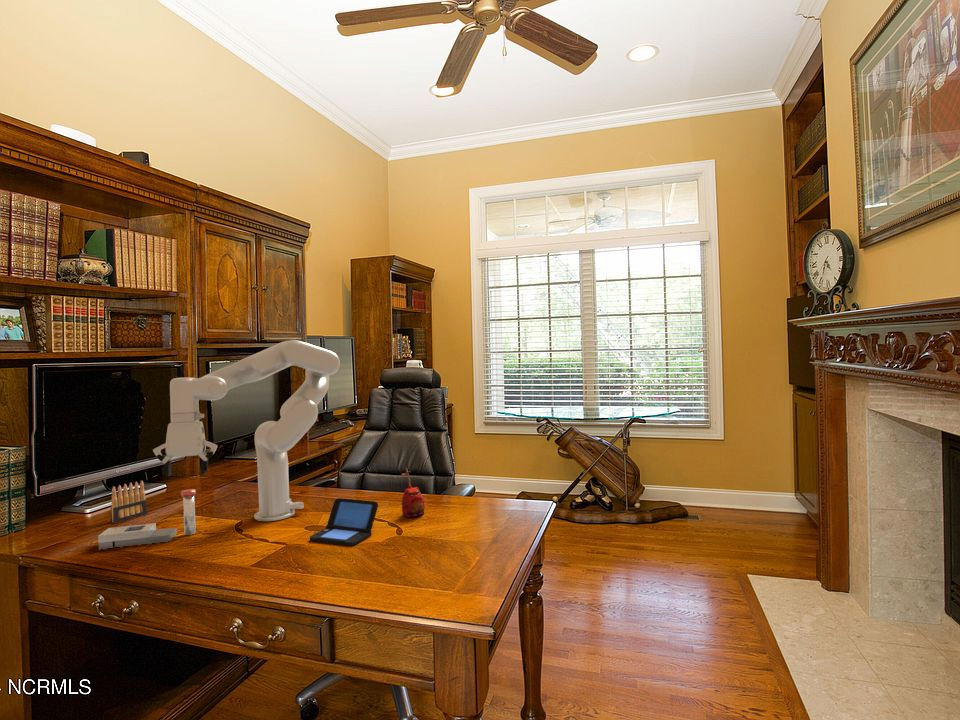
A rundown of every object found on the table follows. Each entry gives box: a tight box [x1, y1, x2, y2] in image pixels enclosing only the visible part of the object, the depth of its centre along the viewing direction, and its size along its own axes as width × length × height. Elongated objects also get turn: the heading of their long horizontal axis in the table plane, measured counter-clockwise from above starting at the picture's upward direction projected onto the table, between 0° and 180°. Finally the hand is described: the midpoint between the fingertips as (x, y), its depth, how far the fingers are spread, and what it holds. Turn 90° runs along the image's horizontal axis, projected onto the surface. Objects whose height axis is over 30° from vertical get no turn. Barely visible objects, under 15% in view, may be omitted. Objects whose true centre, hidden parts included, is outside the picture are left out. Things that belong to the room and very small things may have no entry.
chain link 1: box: [97, 522, 157, 551], centre depth 153 cm, size 12×7×4 cm, turn 105°
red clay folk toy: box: [401, 467, 426, 519], centre depth 171 cm, size 8×7×15 cm
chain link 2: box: [114, 527, 178, 548], centre depth 154 cm, size 14×7×2 cm, turn 105°
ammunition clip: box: [110, 480, 148, 524], centre depth 177 cm, size 11×2×12 cm, turn 151°
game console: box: [309, 497, 379, 547], centre depth 153 cm, size 16×14×9 cm
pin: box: [180, 488, 197, 536], centre depth 159 cm, size 4×4×13 cm
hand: (186, 474), depth 158 cm, fingers open, 9 cm apart
